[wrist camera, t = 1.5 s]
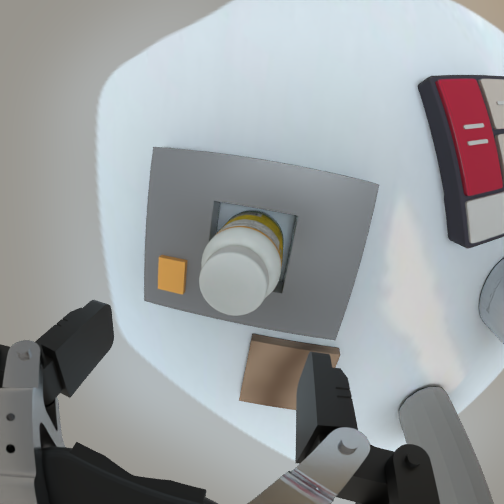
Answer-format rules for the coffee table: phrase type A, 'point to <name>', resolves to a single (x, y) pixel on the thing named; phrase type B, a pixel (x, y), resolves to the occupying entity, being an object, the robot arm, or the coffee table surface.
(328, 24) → the coffee table surface
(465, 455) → the water bottle
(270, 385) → the coaster pad
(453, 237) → the calculator
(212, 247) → the supplement bottle
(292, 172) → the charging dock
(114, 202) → the coffee table surface
